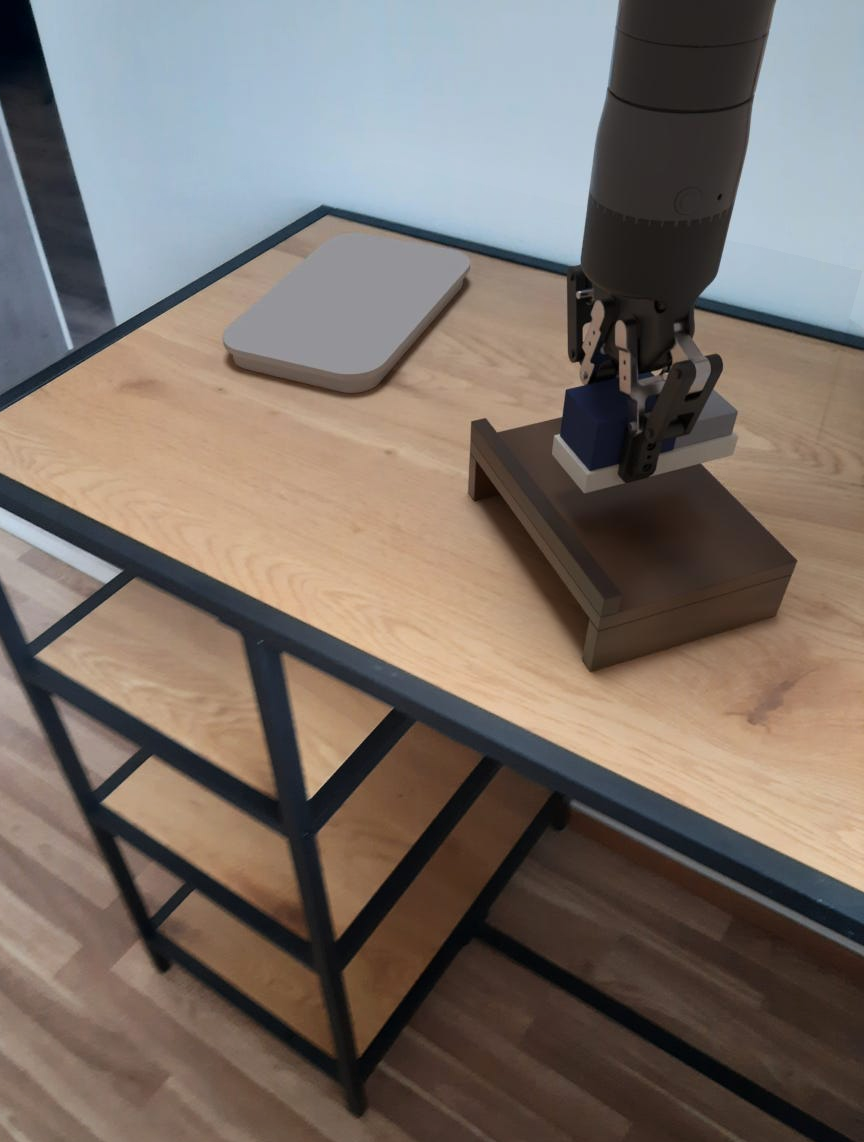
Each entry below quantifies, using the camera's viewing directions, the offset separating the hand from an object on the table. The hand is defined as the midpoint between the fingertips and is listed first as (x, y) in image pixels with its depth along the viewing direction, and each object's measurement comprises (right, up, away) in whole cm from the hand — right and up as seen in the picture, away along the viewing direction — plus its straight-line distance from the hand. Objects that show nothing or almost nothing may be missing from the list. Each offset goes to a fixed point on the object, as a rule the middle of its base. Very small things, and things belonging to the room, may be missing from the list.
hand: (614, 453), depth 61 cm
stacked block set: (+2, 0, +1) cm, 2 cm away
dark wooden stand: (+1, -6, +7) cm, 9 cm away
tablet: (-18, +19, +31) cm, 41 cm away
